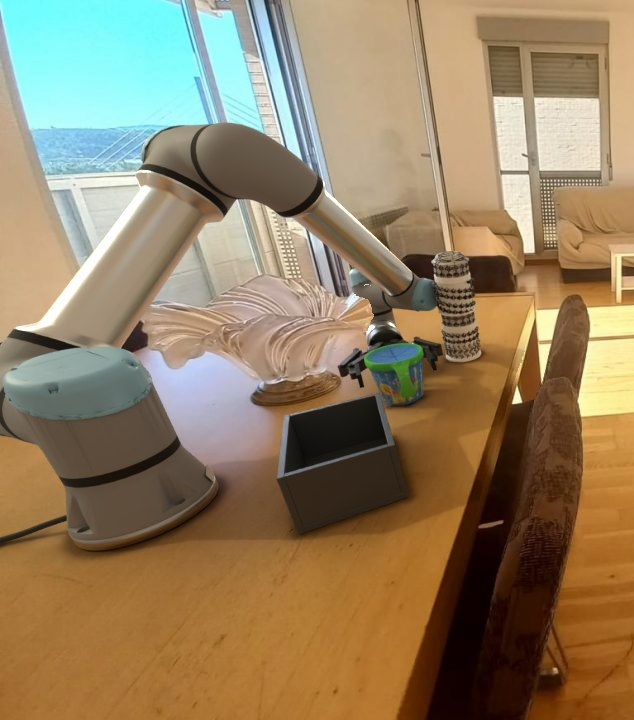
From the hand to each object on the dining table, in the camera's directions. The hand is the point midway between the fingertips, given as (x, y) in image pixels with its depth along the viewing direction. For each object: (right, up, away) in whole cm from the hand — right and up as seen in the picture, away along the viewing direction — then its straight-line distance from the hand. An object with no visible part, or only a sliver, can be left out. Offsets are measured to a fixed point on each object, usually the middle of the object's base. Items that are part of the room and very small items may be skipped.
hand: (398, 372), depth 94 cm
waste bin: (+3, -16, -22) cm, 27 cm away
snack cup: (0, -6, +3) cm, 6 cm away
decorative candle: (+6, +4, +23) cm, 23 cm away
